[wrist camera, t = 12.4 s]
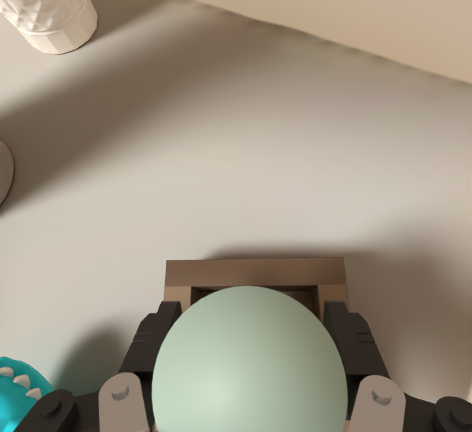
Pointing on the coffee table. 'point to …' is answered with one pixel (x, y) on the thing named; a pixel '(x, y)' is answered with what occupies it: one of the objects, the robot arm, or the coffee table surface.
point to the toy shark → (18, 391)
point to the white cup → (52, 22)
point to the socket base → (259, 281)
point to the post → (249, 367)
